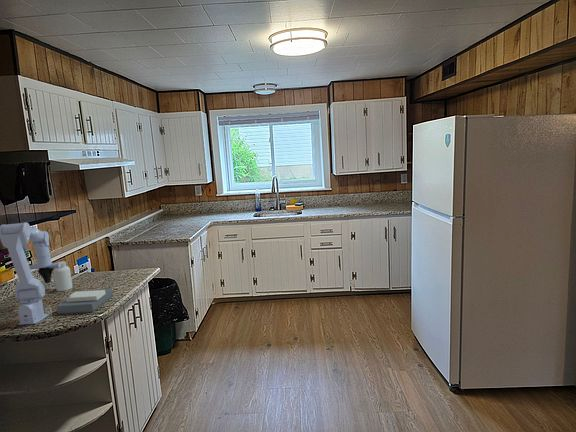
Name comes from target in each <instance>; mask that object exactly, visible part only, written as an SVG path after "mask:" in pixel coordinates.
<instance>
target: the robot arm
mask: <svg viewBox="0 0 576 432" xmlns="http://www.w3.org/2000/svg"><path fill="white" fill-rule="evenodd" d="M29 241H30V243H31V244H32V245H33V246H34V252H35V257H36V263H37V264H31V265H29V262H28V259H27V256H26V253H25V250H24V246H25V245H27V244H28V243H29ZM0 243H1V244H2V246H3V247H5V248H7V251H8V254H9V256H10V260H11V261H12V265H13V267H14V270H15V272H16V273H15V274H16V276H17V277H18V281H19V282H17V284H16V285H15V286H14V293H15V295H14V296H15V299H16V300H17V301H18V302H19V303H20V304H21V305H20V306H19V307H18V309H17V313H18V318H19V319H18V321H19V323H18V325H19V326H20V325H24V326H25V325H35V324H36V325H37V324H38V323H39V322H41V321H42V320H44V319H45V318H47V317H48V316H50V313H45V310H44V304H43V298H44V297H45V296H46V295H45V294H46V288H45V285H44V284H43V283H42V282H41V280H40V279H37V278H35V277H34V276H33V274H32V270H37V273H38V274H39V275H40V276H41V278H42V279H43V280H44V281H43V282H44V283H45V284H49V283H51V281H52V280H51V279H52V274H53V270H54V269H55V268H60V267H61V263H57V262H52V259H51V252H50V234H49V232H48V231H46V230H40V229H38V228H37V227H36V226H30V224H29V222H21V223H10V224H9V223H8V224H1V225H0Z"/></svg>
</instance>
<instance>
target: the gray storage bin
mask: <svg viewBox="0 0 576 432" xmlns="http://www.w3.org/2000/svg"><path fill="white" fill-rule="evenodd" d="M96 290H105V295H103V296H102V297H101V298H99V299H98V300H93V301H76V302H66V299H65V300H63V302H61V303H59V304H58V305H56V307H57V314H58V315H68V314H69V315H70V314H71V315H73V314H87V313H94V312H95V310H96V311H97V310H98V309H100V308H101V307H102V306H103V305H104V304H106V302H107V301H109V300H110V299H112V297H114V292H113V288H100V289H99V288H97V289H82V290H79V291H96ZM101 305H102V306H101Z"/></svg>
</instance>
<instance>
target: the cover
mask: <svg viewBox="0 0 576 432" xmlns="http://www.w3.org/2000/svg"><path fill="white" fill-rule="evenodd" d="M103 295H105V290H96V291H80V290H79V291H74V292H73V293H71V294H69V295H67V296H66V297H65V300H66V302H76V301H93V300H98V299H99V298H101V297H102V296H103Z"/></svg>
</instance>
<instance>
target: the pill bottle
mask: <svg viewBox="0 0 576 432" xmlns="http://www.w3.org/2000/svg"><path fill="white" fill-rule="evenodd" d="M56 263H61V267H60V268H54V269H53V271H52V274H53V279H54V286H55V290H56V292H66V291H69V290H71V289H72V288H73V280H72V279H73V278H72V273H71V269H70V266H68V265H67V262H66V261H59V262H56Z"/></svg>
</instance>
